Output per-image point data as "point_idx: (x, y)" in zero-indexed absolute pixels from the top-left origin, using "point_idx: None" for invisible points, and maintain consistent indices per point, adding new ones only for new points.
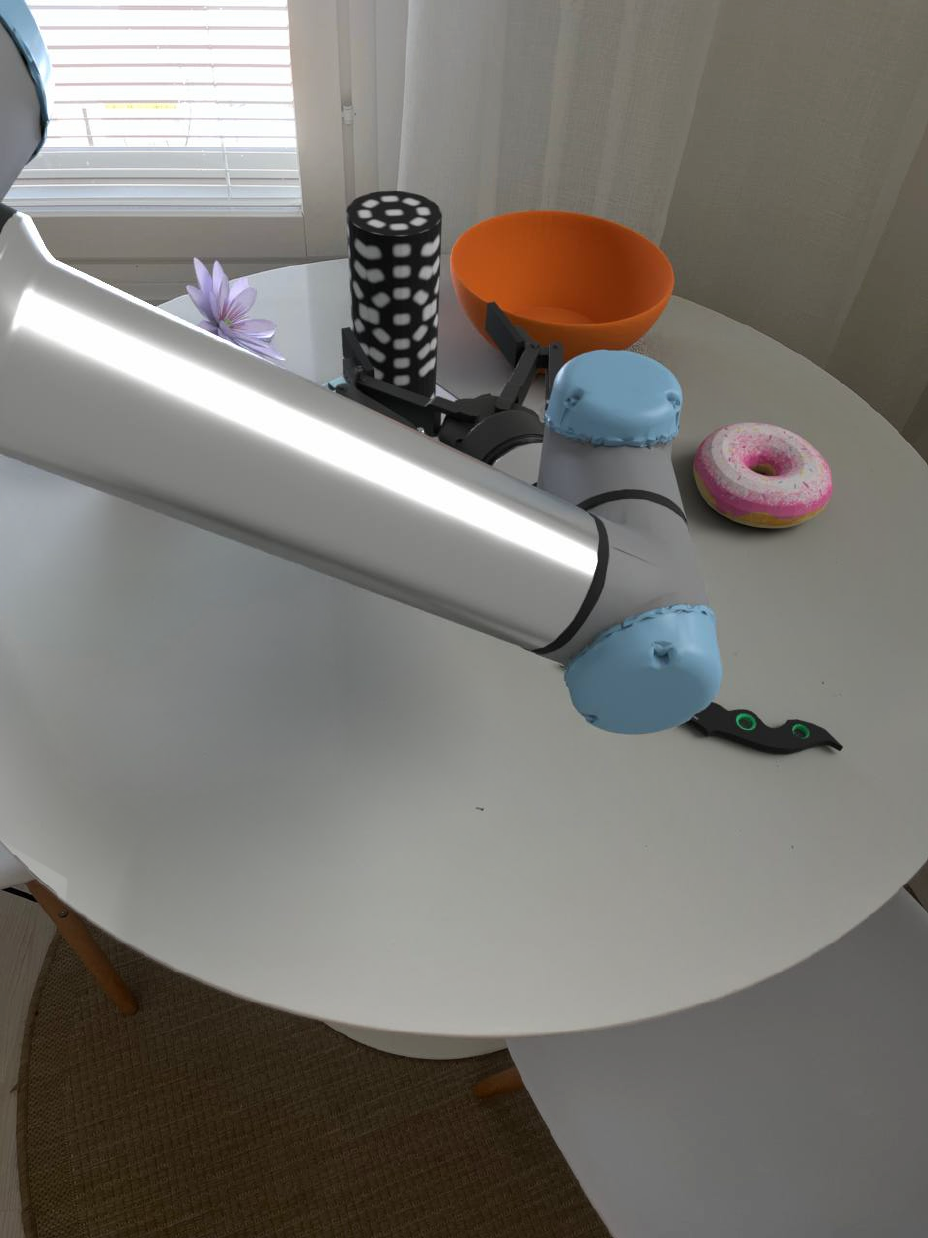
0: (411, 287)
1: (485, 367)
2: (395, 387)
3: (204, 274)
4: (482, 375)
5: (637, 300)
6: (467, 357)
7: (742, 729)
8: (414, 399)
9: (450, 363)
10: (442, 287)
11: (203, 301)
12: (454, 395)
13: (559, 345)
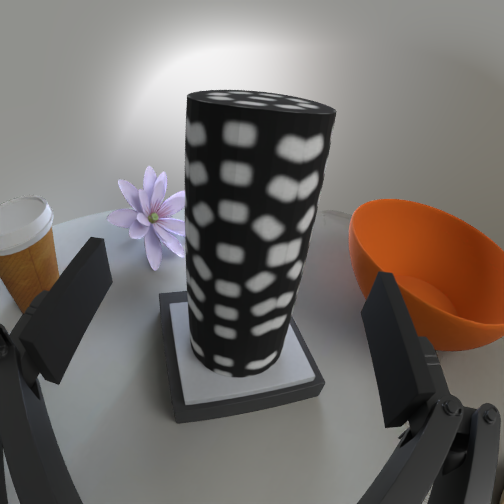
0: (251, 206)
1: (355, 320)
2: (23, 416)
3: (153, 179)
4: (350, 328)
5: (489, 297)
6: (343, 305)
7: None
8: (25, 481)
9: (325, 306)
10: (344, 240)
11: (138, 196)
12: (308, 350)
13: (496, 418)
